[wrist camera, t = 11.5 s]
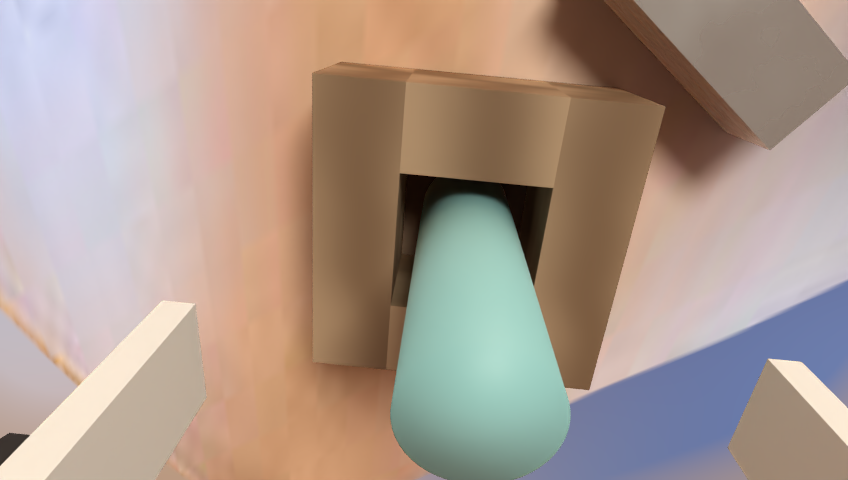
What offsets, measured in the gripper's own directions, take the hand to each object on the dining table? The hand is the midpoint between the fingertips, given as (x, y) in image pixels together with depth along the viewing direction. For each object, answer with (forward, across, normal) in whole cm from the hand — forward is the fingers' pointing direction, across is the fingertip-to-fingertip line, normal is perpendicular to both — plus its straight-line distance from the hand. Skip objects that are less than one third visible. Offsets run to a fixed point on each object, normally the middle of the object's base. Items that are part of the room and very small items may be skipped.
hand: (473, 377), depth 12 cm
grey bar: (+14, +8, +8) cm, 18 cm away
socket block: (+13, 0, -1) cm, 13 cm away
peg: (+13, 0, -1) cm, 13 cm away
